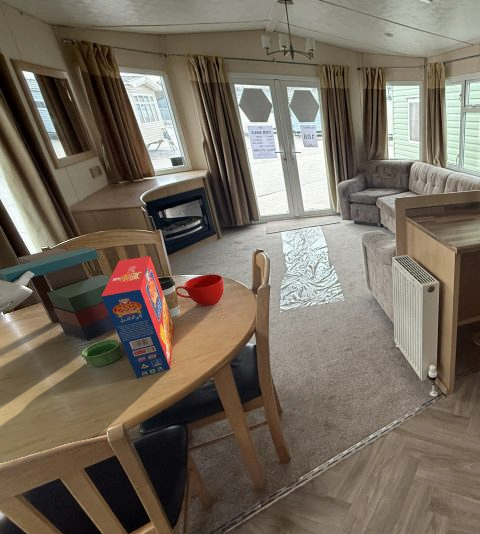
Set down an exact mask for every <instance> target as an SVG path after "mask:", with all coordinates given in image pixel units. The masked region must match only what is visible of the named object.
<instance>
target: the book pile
mask: <svg viewBox="0 0 480 534" xmlns="http://www.w3.org/2000/svg"><path fill="white" fill-rule="evenodd" d="M110 278H111V276H108V275H103V274H98V275H96V276H93V277H89V278H88V279H87V280H84V281H81V282H78V283H75V284H72V285H69V286H66V287H63V288H60V289H57V290H54V291H51V292H48V293H47V294H48V296H49V298H50V300H51V302H52V304H53V306H54V308H53V309H54V311H55V313H56V314H57V316H58V318H59V320H60V321H58V323H59V324H60V327H61V329H62V331H63V333H64V335H66V336H70V337H72V338H75V339H79V340H82V341H85V342H90V341H92V340H94V339H97V338H98V337H100V336H102V335H105V334H107V333H109V332H111V331H114V330H116V329H115V327H114V324H113V322H112V320H111V317H110V315H109V313H108V311H107V308H106V306H105V304H104V301H103V299H102V297H101V296H102V294H103V292H104V290H105V288H106V286H107V284H108V282H109V280H110Z"/></svg>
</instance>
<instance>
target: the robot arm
mask: <svg viewBox="0 0 480 534" xmlns="http://www.w3.org/2000/svg"><path fill="white" fill-rule="evenodd" d="M21 275H22V276H21V277H20V278H19V279H18V280H16V281H14V282H13V283H12V282H9V281H5V280H1V279H0V314H2V313H5V312H9V311H11V310H13V309H15V308H16V307H18V306H19V305H20V304H21V303H23V302H24V301H26V299H28V298H29V297H30V296H31V295H32V293H33V290H32V289H31V288H29V287H27V285H28V284H29V283H30V281H29V280H30V278H32V277H33V276H34V273H32V272H30V271H25V272H24V273H22V274H21Z"/></svg>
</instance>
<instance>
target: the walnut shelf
mask: <svg viewBox="0 0 480 534" xmlns="http://www.w3.org/2000/svg"><path fill="white" fill-rule="evenodd" d="M70 251H71V250H66V249H61V248H51V249H47V250H43V251H39V252H35V253H32V254H28V255H24V256H20V257H18V258H17V260H18V262H19V263H20V265H21V264H25V263H29V262H32V261H36V260H40V259H44V258H48V257H51V256H55V255H59V254H63V253H67V252H70ZM87 279H89V277H88V274H87V271H86V270H85V267H84V264H83V263H80V264H77V265H73V266H70V267H67V268H63V269H60V270H56V271H53V272H50V273H46V274H43V275H39V276H36V277H33V278H30V280H29V283H30V284H31V287H32V288H33V290H34V293H35V294H36V296H37V298H38V300H39V302H40V304H41V305H42V308H43V310H44V311H45V313H46V315H47V318H48V319H49V321H50V323H52V324H56V323H59V321H60V320H59V318H58V316H57V314H56V313H55V311H54V309H53V308H54V306H53V304H52V302H51V300H50V298H49V296H48V294H47V293H48V292H51V291H54V290H57V289H60V288H63V287H66V286H69V285H72V284H75V283H78V282H81V281H84V280H87Z"/></svg>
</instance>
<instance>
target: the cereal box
mask: <svg viewBox="0 0 480 534" xmlns="http://www.w3.org/2000/svg"><path fill="white" fill-rule="evenodd" d="M110 277H111V278H110V280H109V282H108V284H107V286H106V288H105V290H104V292H103V294H102V296H101V297H102V299H103V301H104V304H105V306H106V308H107V311H108V313H109V315H110V317H111V320H112V322H113V324H114V327H115V329H114V330H115V331H116V333H117V336H118V338H119V341H120V344H121V345H122V348H123V350H124V352H125V354H126V356H127V359H128V361H129V363H130V366H131V368H132V371H133V373H134V375H135V377H136V379H140V378H144V377H148V376H150V375H153V374H154V375H155V374H158V373H161V372H165V371H168V370H171V365H172V355H173V354H172V353H173V345H174V344H173V343H174V332H175V324H174V321H173V317H172V318H171V315H170V312H169V309H168V306H167V303H166V300H165V297H164V295H163V292H162V289H161V286H160V283H159V280H158V278H159V277H158V275H157V272H156V269H155V266H154V263H153V260H152V257H151V256H150V255H149V256H143V257H142V256H141V257H135V258H129V259H122V260H121V259H120V260H118V262H117V264H116V266H115V268H114V270H113V272H112V274H111V276H110Z"/></svg>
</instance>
